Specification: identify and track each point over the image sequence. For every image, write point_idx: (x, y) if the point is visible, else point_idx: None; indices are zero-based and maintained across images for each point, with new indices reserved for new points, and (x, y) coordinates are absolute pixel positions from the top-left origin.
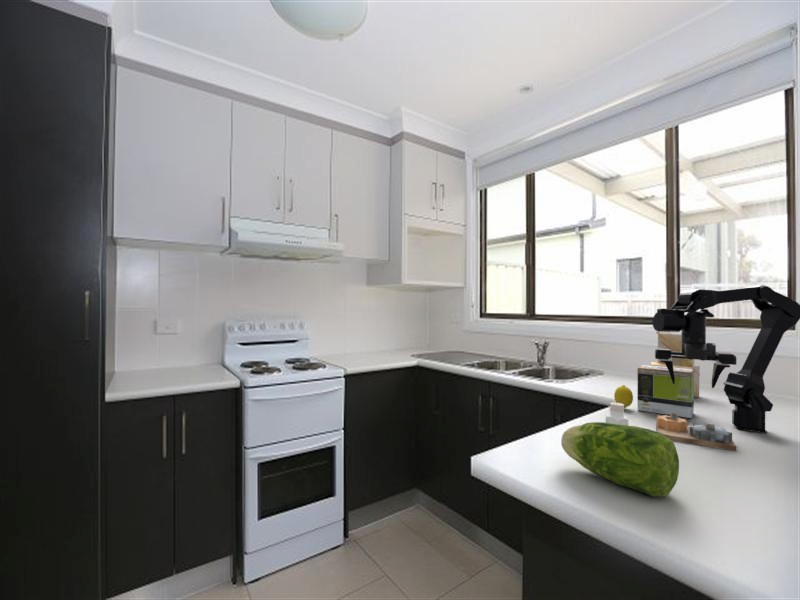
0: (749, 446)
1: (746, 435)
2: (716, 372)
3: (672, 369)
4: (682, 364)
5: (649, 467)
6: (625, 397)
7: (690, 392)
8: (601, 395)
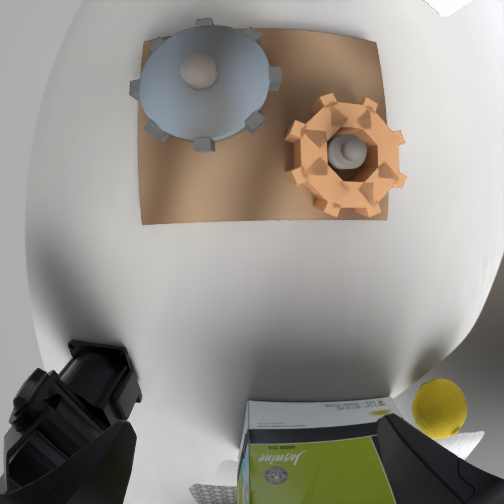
0: (101, 137)
1: (101, 288)
2: (48, 501)
3: (458, 489)
4: None
5: None
6: (445, 393)
7: (252, 475)
8: None
